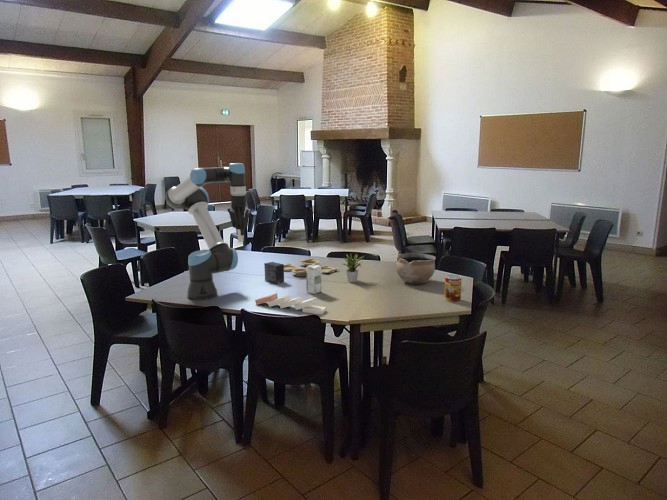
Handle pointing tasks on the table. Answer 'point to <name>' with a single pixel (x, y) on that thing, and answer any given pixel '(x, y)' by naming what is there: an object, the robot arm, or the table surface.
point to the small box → (274, 272)
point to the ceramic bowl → (415, 267)
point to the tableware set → (302, 271)
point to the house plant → (352, 268)
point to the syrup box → (313, 279)
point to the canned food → (452, 288)
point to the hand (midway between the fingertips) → (240, 241)
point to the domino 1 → (266, 299)
